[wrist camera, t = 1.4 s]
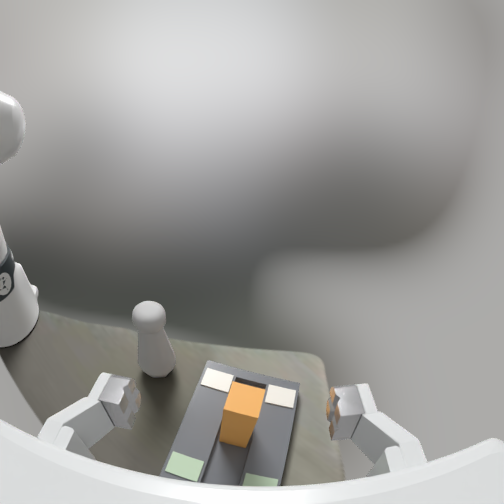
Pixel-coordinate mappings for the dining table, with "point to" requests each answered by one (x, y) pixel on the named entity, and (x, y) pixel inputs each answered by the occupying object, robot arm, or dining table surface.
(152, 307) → the salt shaker
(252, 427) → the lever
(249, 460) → the panel
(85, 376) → the dining table surface
